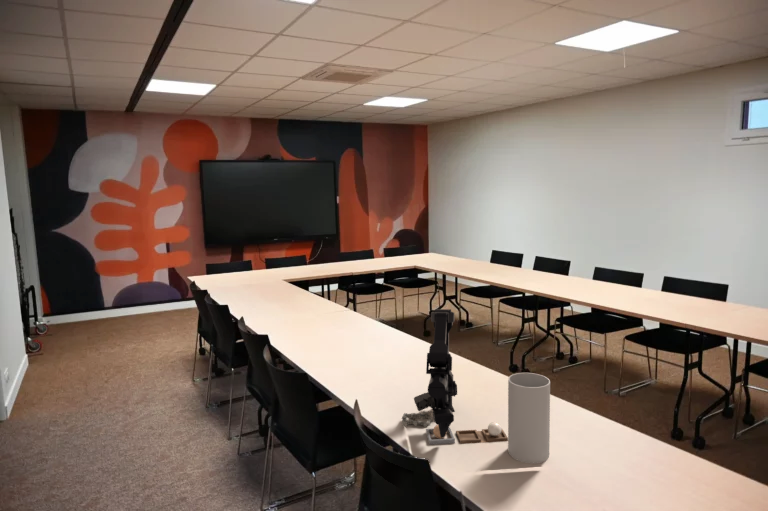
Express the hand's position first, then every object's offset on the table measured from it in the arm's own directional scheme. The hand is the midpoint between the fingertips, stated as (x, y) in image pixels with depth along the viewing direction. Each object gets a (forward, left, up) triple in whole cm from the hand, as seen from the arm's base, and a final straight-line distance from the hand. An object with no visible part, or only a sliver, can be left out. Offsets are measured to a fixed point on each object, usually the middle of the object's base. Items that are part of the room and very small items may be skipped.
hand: (440, 430), depth 170 cm
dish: (0, 0, -4) cm, 4 cm away
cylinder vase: (+13, +26, -4) cm, 29 cm away
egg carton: (-13, -6, -4) cm, 15 cm away
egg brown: (0, 0, -3) cm, 3 cm away
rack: (+1, +14, -4) cm, 14 cm away
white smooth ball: (+1, +18, -2) cm, 19 cm away
